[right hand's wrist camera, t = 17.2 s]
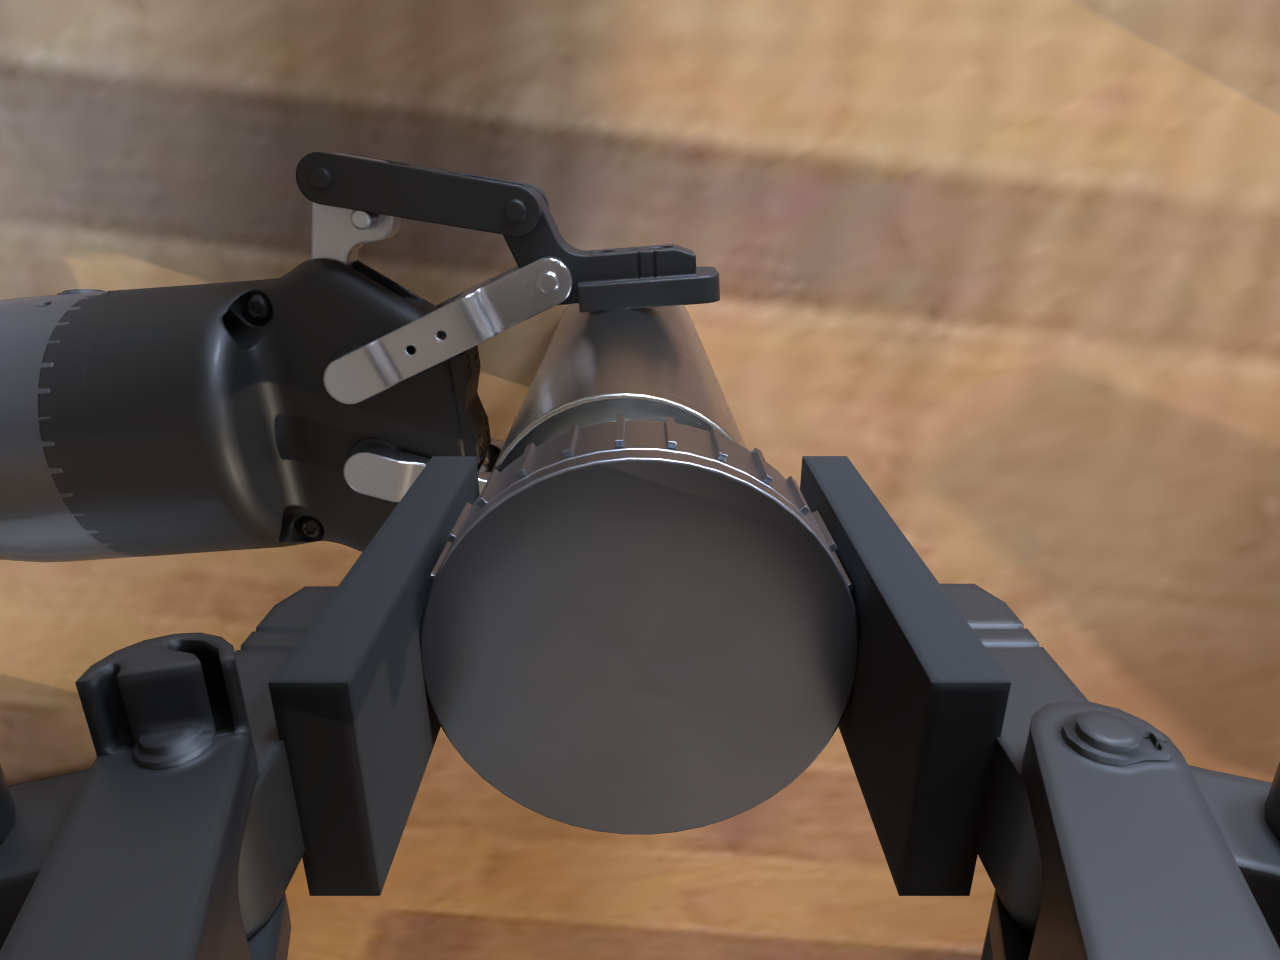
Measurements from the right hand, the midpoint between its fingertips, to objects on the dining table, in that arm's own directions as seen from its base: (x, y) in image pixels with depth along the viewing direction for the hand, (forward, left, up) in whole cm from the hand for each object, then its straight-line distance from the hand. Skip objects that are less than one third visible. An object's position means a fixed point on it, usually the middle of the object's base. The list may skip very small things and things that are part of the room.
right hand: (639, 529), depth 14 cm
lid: (0, 0, +4) cm, 4 cm away
